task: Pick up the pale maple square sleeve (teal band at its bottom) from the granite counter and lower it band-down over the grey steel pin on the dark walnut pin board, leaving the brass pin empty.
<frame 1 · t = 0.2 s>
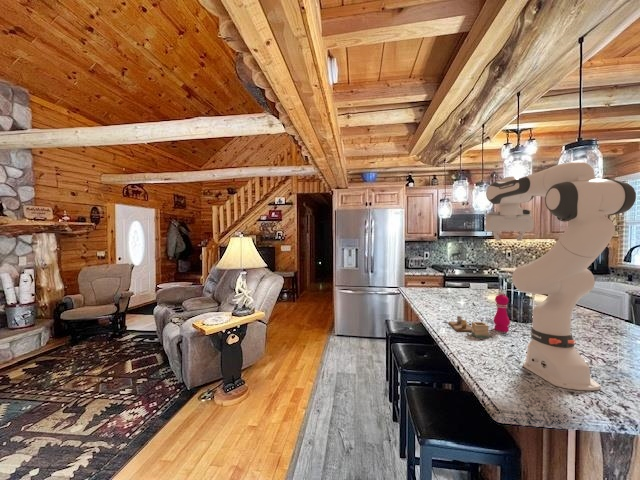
hand: (508, 240, 137), 47 cm above the countertop, fingers open, 8 cm apart
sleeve: (479, 335, 142), on the countertop
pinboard: (461, 327, 154), on the countertop
pepper mill: (501, 330, 150), on the countertop
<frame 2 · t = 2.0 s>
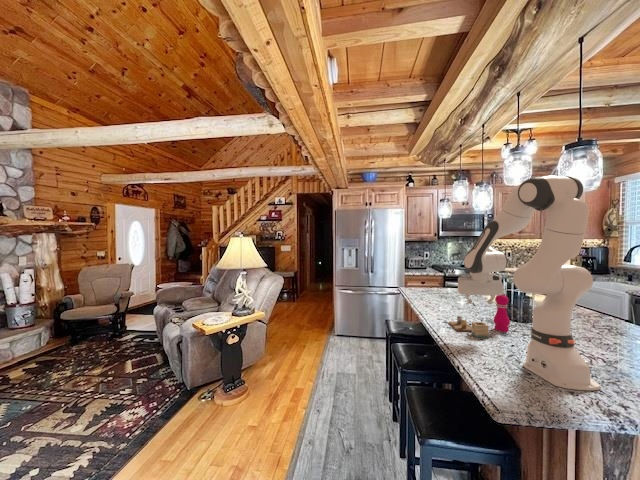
hand: (479, 303, 141), 16 cm above the countertop, fingers open, 8 cm apart
nothing on the countertop moved.
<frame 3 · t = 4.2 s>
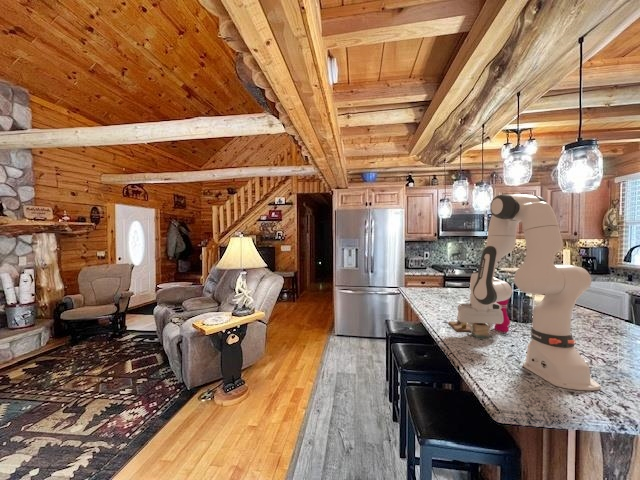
hand: (479, 331, 141), 2 cm above the countertop, fingers closed on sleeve, 6 cm apart
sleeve: (479, 335, 142), on the countertop, touching gripper
everything else where it was.
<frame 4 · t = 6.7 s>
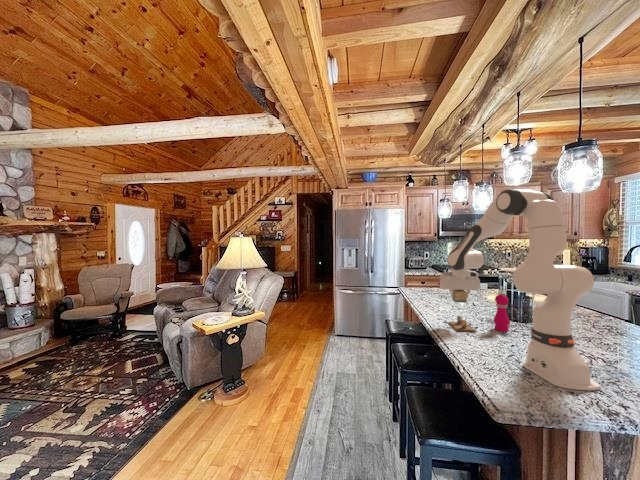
hand: (459, 297, 157), 15 cm above the countertop, fingers closed on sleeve, 6 cm apart
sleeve: (459, 301, 158), point 13 cm above the countertop, touching gripper
everything else where it was.
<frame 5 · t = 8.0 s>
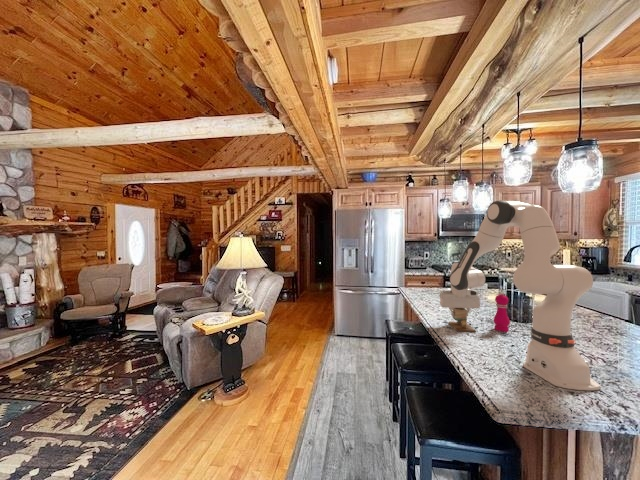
hand: (459, 315, 158), 5 cm above the countertop, fingers closed on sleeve, 6 cm apart
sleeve: (459, 319, 158), point 3 cm above the countertop, touching gripper
everything else where it was.
when the fingers open (4 cm above the countertop, at t = 9.2 s): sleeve stays where it is, resting on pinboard.
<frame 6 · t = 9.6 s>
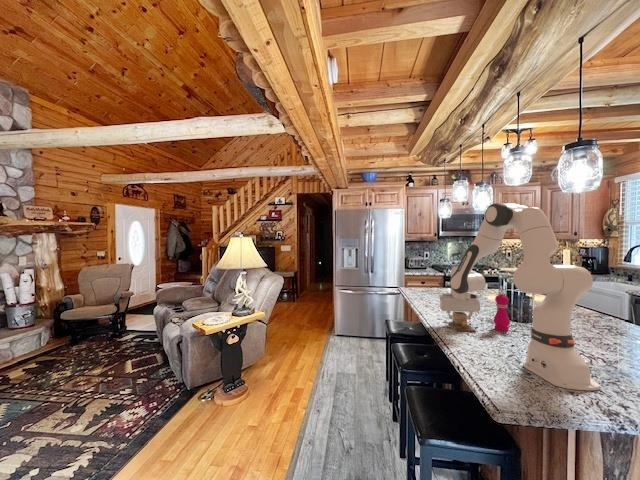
hand: (459, 319, 157), 4 cm above the countertop, fingers open, 8 cm apart
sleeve: (459, 323, 158), point 1 cm above the countertop, touching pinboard
everything else where it was.
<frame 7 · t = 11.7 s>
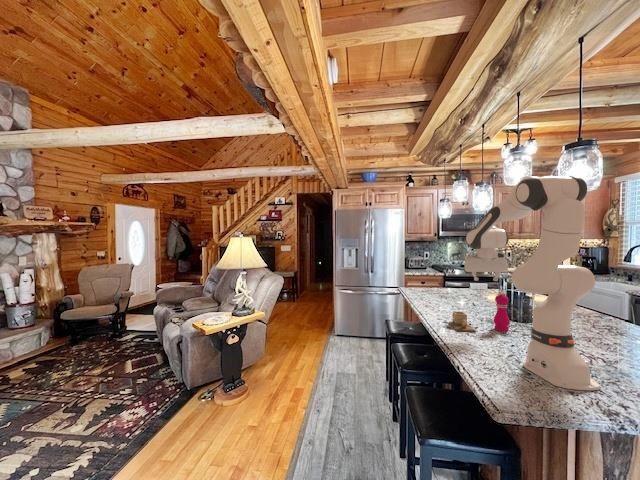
hand: (485, 280, 149), 26 cm above the countertop, fingers open, 8 cm apart
nothing on the countertop moved.
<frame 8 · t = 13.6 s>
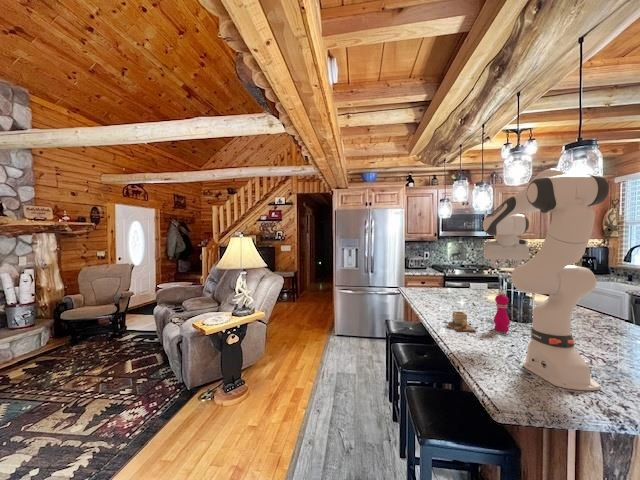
hand: (505, 268, 144), 33 cm above the countertop, fingers open, 8 cm apart
nothing on the countertop moved.
at the end: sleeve 0.0 cm from the target spot on the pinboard, point 1.0 cm above the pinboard's base; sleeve tilted 0°; the gripper is holding nothing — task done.
